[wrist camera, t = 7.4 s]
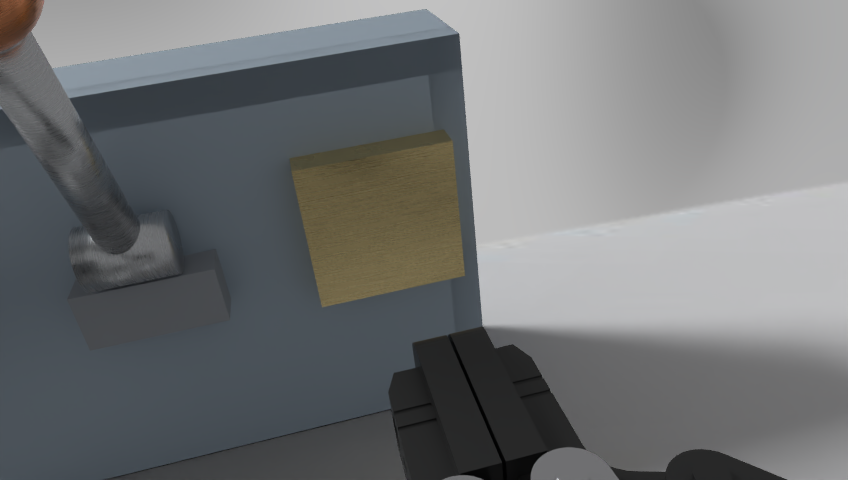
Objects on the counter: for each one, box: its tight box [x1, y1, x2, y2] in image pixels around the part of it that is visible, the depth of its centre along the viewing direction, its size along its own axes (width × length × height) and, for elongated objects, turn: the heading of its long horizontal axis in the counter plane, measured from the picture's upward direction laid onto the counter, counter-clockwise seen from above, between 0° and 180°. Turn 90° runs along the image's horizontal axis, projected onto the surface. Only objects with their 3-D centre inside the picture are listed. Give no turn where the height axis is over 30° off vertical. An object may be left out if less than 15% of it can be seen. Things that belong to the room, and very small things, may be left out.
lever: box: [0, 0, 184, 293], centre depth 15 cm, size 3×3×10 cm
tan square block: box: [289, 129, 465, 307], centre depth 22 cm, size 5×4×5 cm
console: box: [0, 9, 482, 480], centre depth 22 cm, size 20×5×13 cm, turn 103°
